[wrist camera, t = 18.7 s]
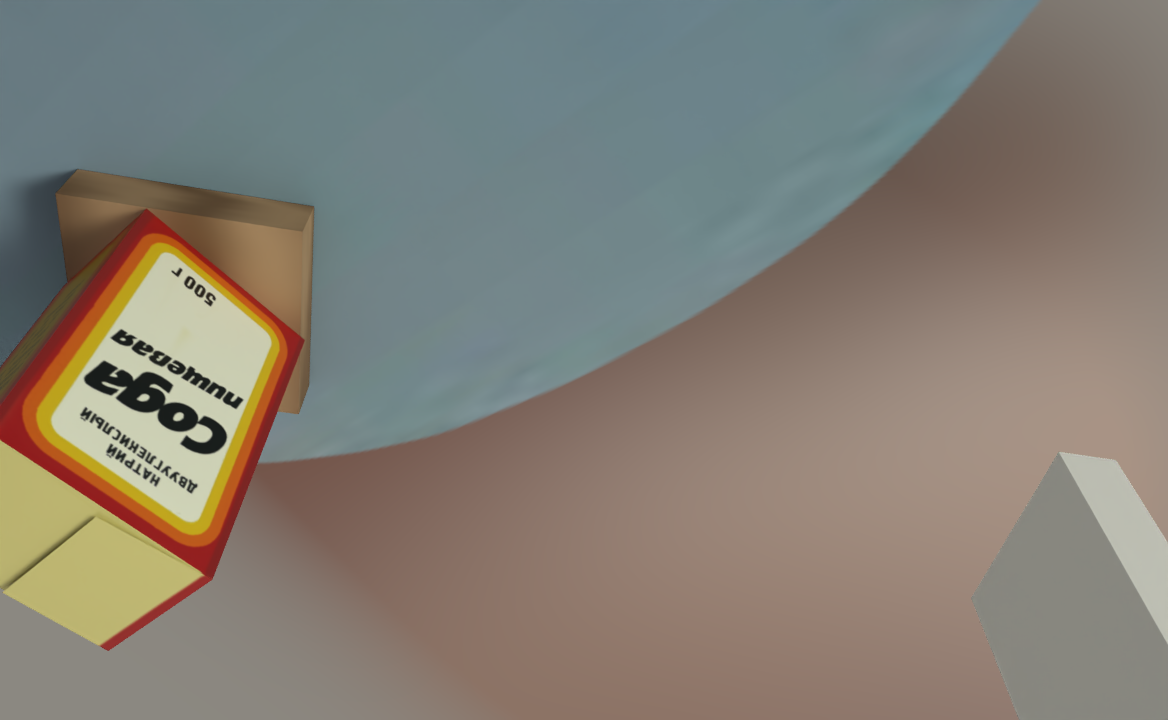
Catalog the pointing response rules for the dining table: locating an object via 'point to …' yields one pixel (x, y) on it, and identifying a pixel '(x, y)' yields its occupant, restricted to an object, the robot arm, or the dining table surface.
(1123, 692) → the robot arm
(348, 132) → the dining table surface
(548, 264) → the dining table surface
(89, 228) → the plinth
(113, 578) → the baking soda box
